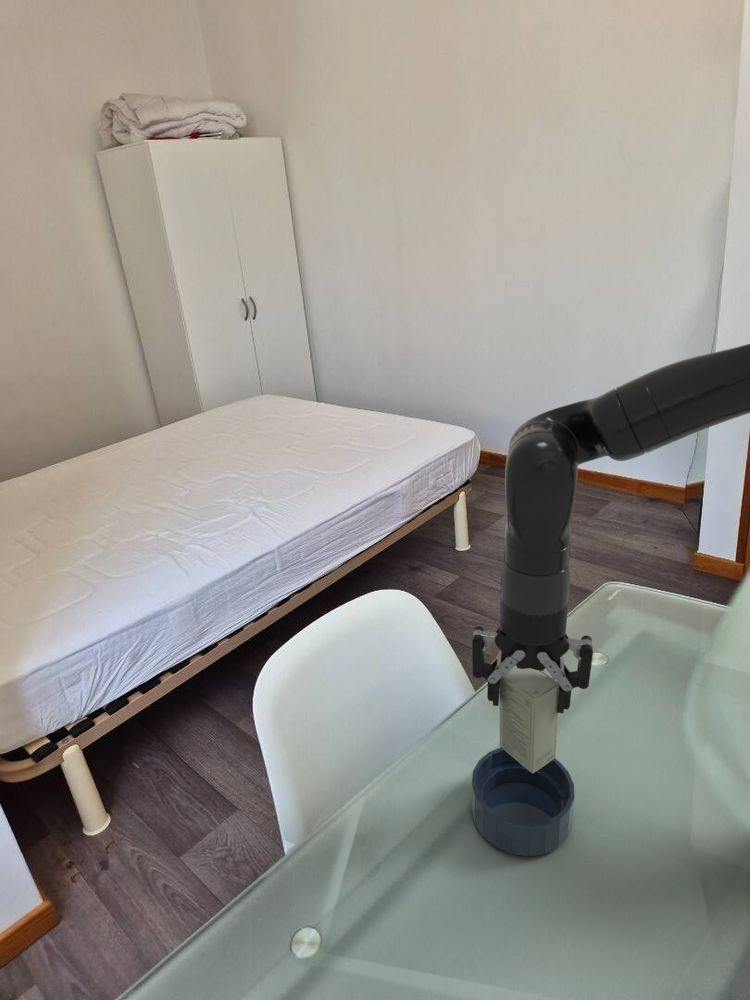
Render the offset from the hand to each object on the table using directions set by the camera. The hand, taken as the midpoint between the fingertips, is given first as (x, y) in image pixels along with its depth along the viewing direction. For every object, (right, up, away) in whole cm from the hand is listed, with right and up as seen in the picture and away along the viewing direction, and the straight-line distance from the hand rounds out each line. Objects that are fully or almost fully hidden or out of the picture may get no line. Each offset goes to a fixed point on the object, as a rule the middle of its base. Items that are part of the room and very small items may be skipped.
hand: (528, 704), depth 85 cm
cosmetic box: (0, -7, +4) cm, 8 cm away
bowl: (+1, -18, +8) cm, 19 cm away
